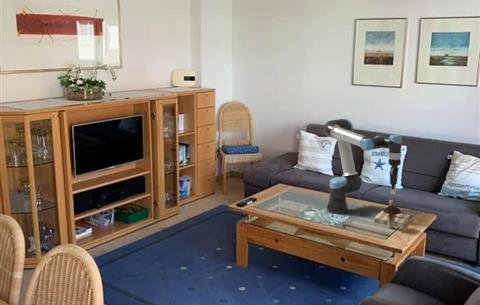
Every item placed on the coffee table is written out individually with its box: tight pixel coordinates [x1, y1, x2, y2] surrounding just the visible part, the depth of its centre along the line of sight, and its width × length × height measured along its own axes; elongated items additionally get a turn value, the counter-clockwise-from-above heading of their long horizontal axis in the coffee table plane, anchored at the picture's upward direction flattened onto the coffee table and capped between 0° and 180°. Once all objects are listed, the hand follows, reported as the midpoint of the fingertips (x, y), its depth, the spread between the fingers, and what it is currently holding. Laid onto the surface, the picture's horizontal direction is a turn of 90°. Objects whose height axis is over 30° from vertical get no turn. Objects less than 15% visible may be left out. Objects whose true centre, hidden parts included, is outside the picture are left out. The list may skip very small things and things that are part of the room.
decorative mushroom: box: [382, 205, 402, 229], centre depth 315 cm, size 11×11×15 cm
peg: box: [388, 199, 397, 207], centre depth 328 cm, size 4×4×14 cm
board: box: [373, 210, 410, 228], centre depth 330 cm, size 18×18×3 cm
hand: (393, 193), depth 326 cm, fingers closed
